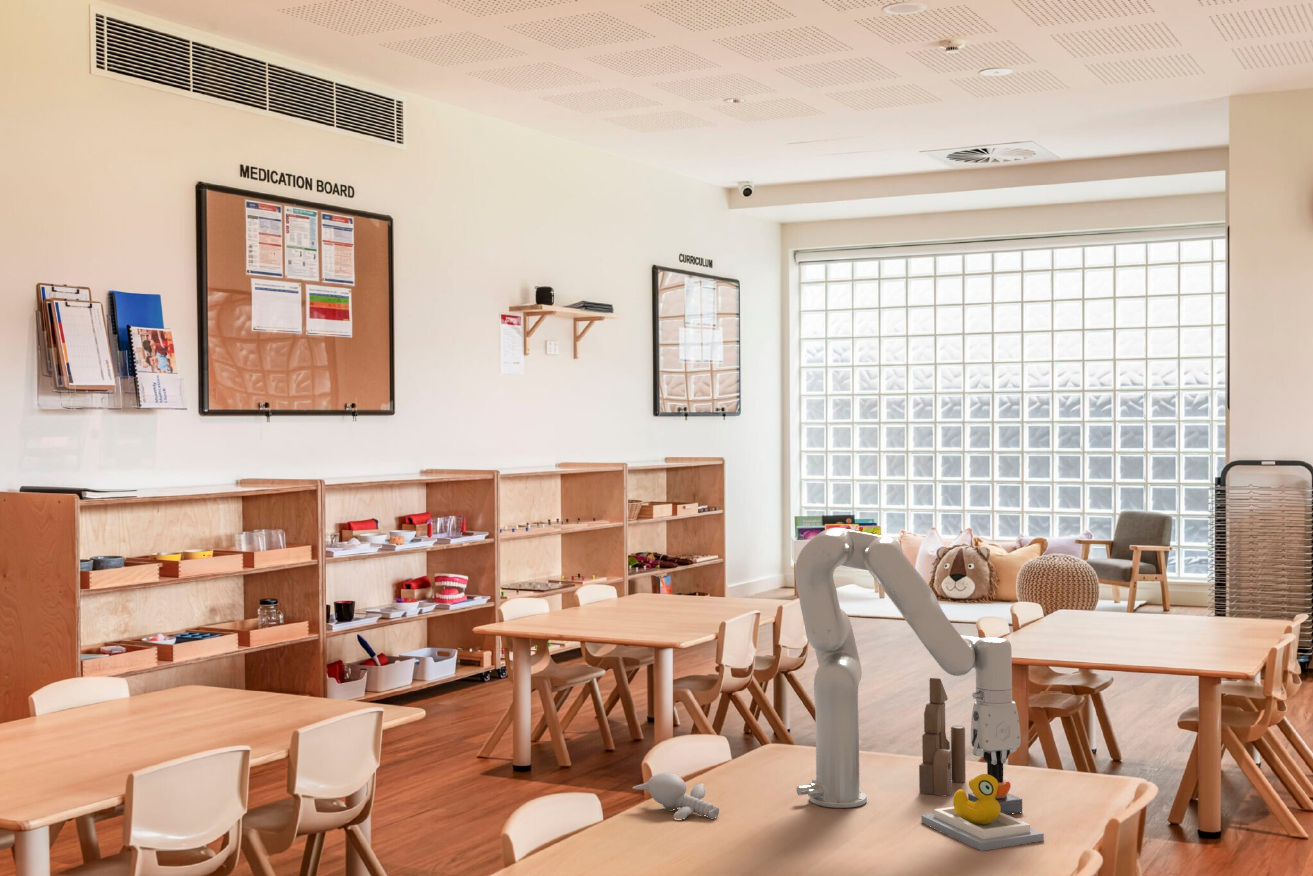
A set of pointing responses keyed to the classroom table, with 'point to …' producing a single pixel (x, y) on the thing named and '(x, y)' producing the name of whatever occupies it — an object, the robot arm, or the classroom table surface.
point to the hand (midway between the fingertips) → (995, 781)
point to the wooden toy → (940, 747)
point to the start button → (1003, 795)
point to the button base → (1005, 803)
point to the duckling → (980, 800)
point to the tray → (983, 830)
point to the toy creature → (678, 796)
